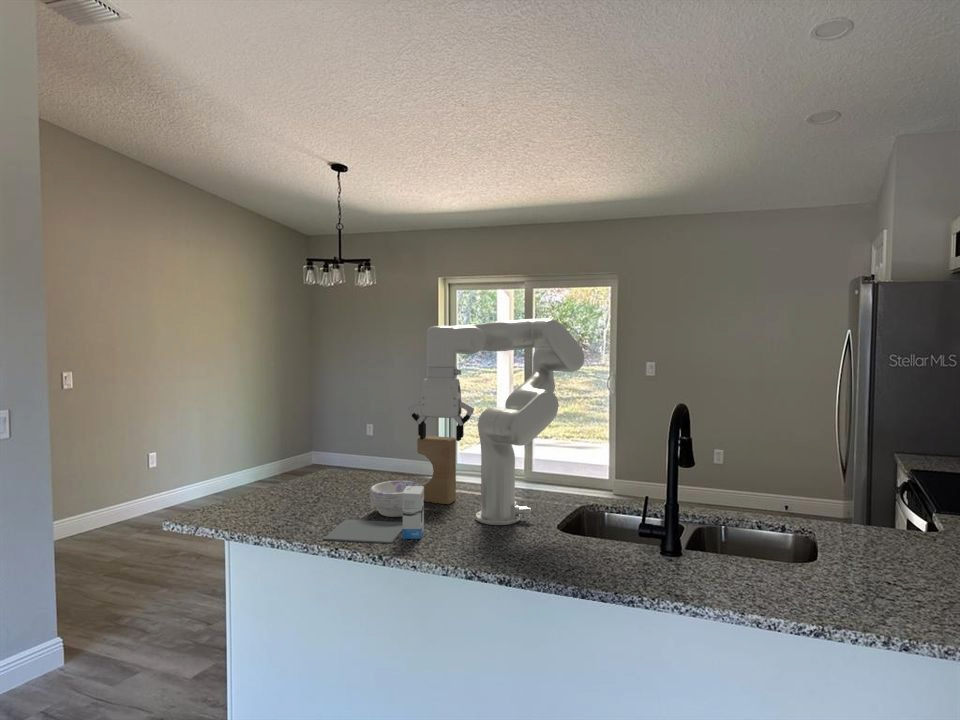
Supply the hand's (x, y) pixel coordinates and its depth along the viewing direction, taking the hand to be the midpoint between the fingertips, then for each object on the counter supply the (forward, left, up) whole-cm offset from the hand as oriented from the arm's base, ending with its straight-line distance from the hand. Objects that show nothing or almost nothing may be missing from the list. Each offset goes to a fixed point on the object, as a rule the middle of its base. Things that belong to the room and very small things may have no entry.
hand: (440, 439), depth 159 cm
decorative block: (+8, -31, -25) cm, 41 cm away
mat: (+20, +1, -25) cm, 32 cm away
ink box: (+7, +1, -25) cm, 26 cm away
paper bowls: (+17, -17, -25) cm, 35 cm away
